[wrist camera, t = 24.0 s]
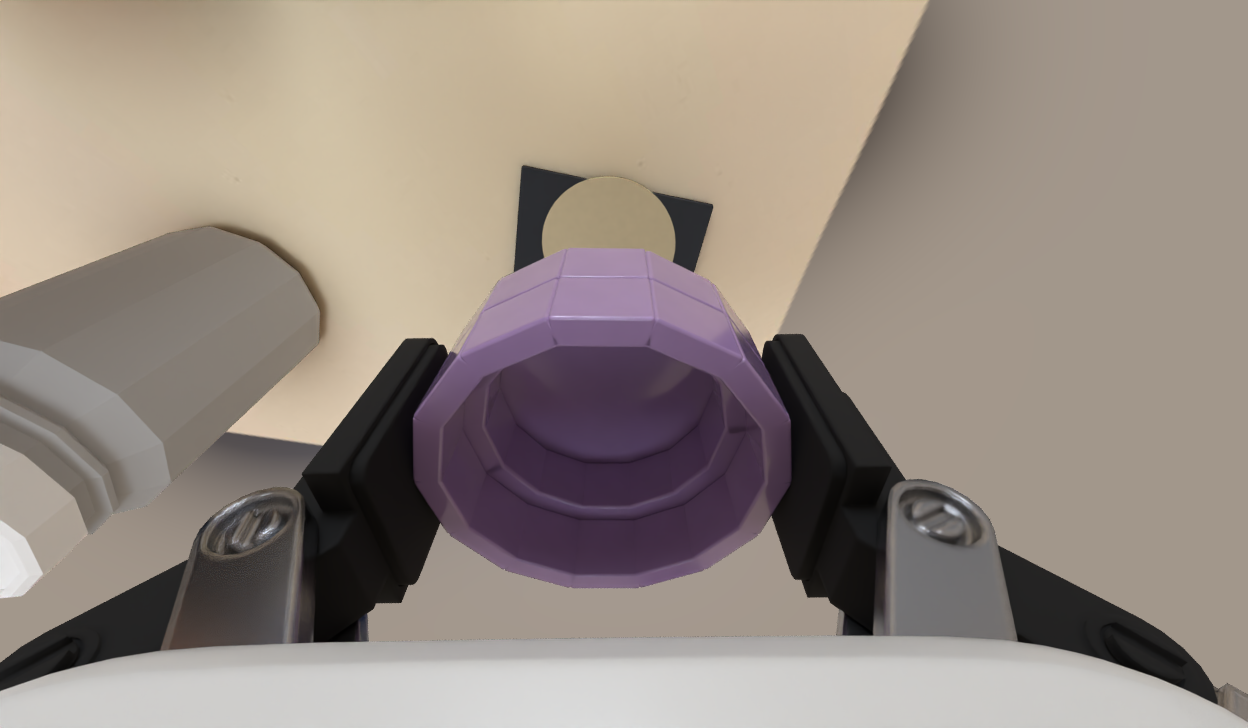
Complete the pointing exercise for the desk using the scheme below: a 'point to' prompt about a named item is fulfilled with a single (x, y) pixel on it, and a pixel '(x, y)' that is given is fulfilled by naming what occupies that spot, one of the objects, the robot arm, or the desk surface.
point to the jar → (132, 380)
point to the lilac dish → (603, 424)
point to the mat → (604, 218)
